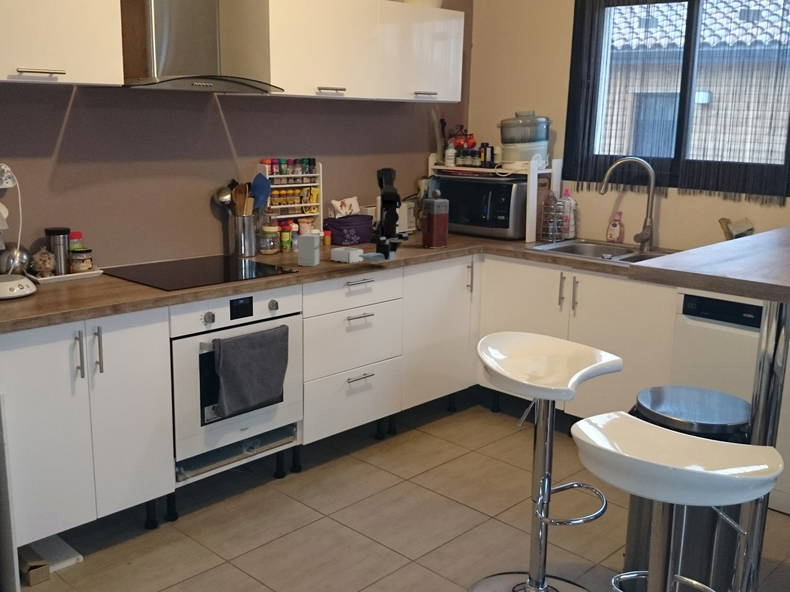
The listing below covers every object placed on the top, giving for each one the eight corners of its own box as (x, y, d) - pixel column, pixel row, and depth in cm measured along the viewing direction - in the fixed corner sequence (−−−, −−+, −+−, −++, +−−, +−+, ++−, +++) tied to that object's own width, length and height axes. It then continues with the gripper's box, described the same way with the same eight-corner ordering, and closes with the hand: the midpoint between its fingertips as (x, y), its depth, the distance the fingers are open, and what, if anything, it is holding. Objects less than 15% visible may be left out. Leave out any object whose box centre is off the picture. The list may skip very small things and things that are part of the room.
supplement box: (314, 266, 331) (314, 236, 329) (297, 265, 333) (297, 235, 330) (319, 263, 338) (319, 234, 336) (303, 263, 340) (302, 233, 337)
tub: (330, 260, 347) (330, 249, 346) (344, 258, 354) (344, 246, 353) (349, 263, 340) (349, 251, 339) (363, 260, 347) (363, 249, 346)
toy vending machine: (418, 247, 391) (419, 189, 385) (436, 245, 397) (437, 188, 391) (429, 249, 384) (431, 190, 378) (447, 247, 390) (449, 190, 384)
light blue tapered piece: (359, 259, 336) (359, 249, 335) (373, 256, 343) (373, 247, 342) (385, 263, 327) (385, 253, 326) (399, 260, 334) (399, 250, 333)
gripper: (389, 218, 340) (388, 254, 344) (359, 221, 326) (359, 259, 329) (409, 220, 333) (408, 257, 337) (380, 224, 319) (379, 262, 323)
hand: (389, 259), depth 331 cm, fingers closed on light blue tapered piece, 3 cm apart
